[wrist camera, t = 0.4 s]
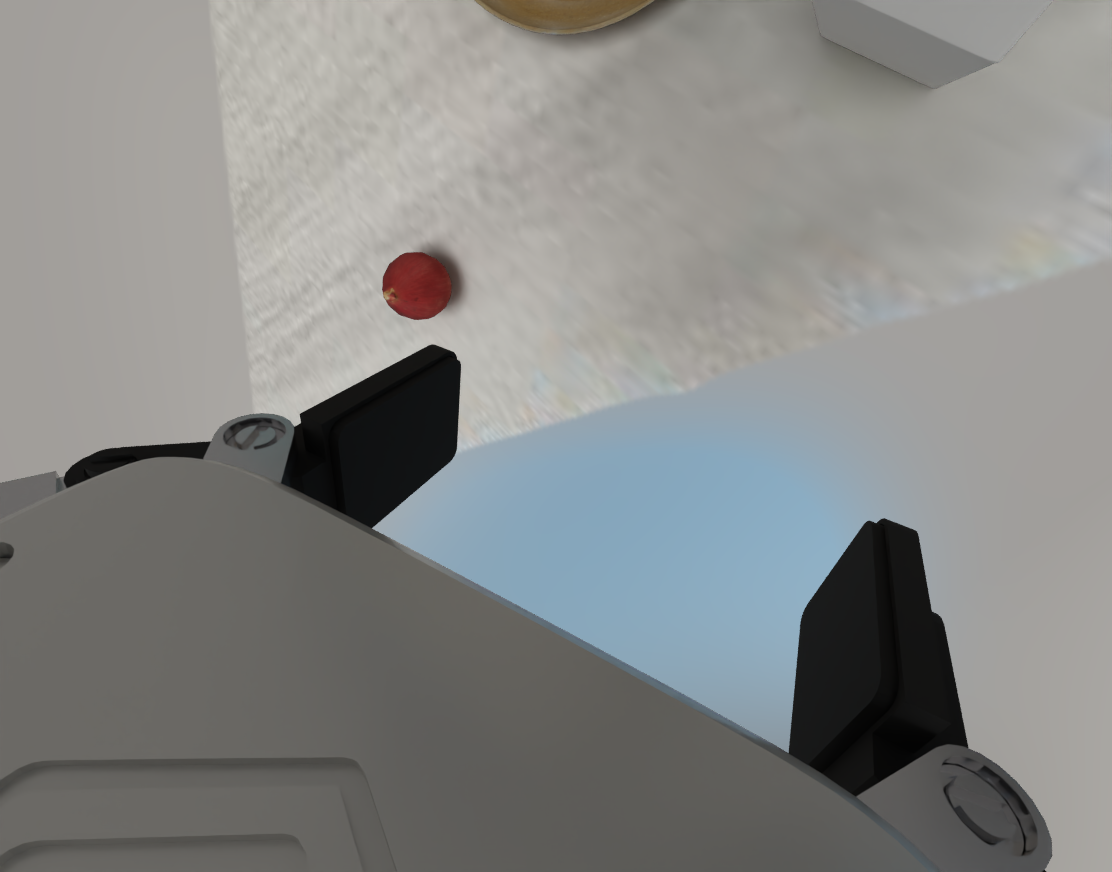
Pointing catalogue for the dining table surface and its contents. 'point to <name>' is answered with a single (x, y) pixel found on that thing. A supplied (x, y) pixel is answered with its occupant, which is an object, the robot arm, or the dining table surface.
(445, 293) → the onion
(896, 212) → the dining table surface
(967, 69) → the milk carton
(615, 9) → the plant saucer
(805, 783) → the robot arm
